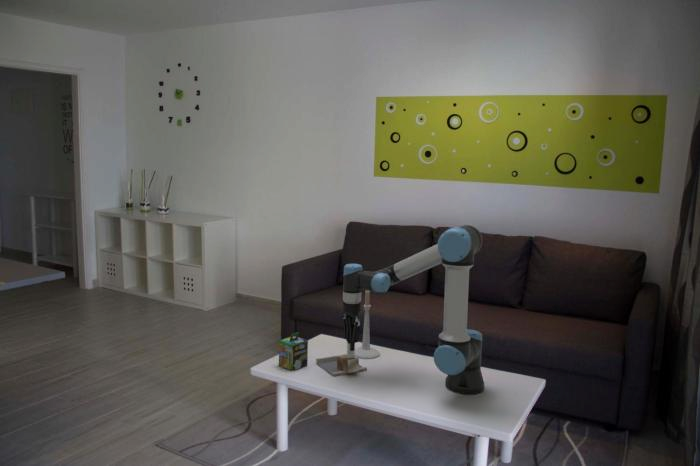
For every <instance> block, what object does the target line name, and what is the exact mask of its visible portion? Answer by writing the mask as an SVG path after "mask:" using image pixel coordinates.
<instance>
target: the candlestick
mask: <svg viewBox="0 0 700 466" xmlns="http://www.w3.org/2000/svg"><path fill="white" fill-rule="evenodd" d="M364 292H365V294H364V295H365V297H364V305H363V307H364V308H363V309H364V319H363V321H364V322H363V331H362V343H361V344H362V345H361V347H356V348H355V352H354V357H355V358H358V359H362V360H373V359H376V358H378V357H380V356H381V353H380V351H378V350H377V349H376V348H373V347H371V343H370V342H371V341H370V339H371V337H370V332H371V331H370V310H371V307H372V305H371V304H370V299H371V298H370V297H371V296H370V294H371V291H370V290H365V291H364Z"/></svg>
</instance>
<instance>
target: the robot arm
mask: <svg viewBox="0 0 700 466" xmlns="http://www.w3.org/2000/svg"><path fill="white" fill-rule="evenodd" d="M482 245H483V236H482V233H481V232H480V230H478V229H477V228H476V227H474V226H472V225H468V224H466V225H465V224H464V225H461V226H457V227H451V228H449V229H447V230H446V231H443V232H442V234H441V235H440V236H439V239H438V240H437V244H434V245H432V246H431V247H428V248H425V249H424V250H422V251H420V252H417V253H414V254H413V255H411V256H409V257H406V258H405V259H402V260H400V261H398V262H396V263H394V264H392V265H390V266H387V267H385V268H382V269H378V270H375V271H367V270H363V266H362V264H359V263H347V264H345V265H344V267H343V275H342V278H343V288H342V289H343V290H342V301H343V302H342V311H343V312H344V314H342V315H341V318H342V327H343V338H344V340H345V341H346V345H347V346H346V354H347V358H354V352H355V349H356V347H355V346H356V345H355V344H356V343H358V342H359V340H360V339H359V338H360V331H361V327H362V324H363V322H362V321H360V320H359V313H360V312H361V311H362V302H361V301H362V290H365V291H370V292H375V293H386V292H388V291H389V288H390V286H394V285H396V284H398V283H401V282H403V281H404V280H406V279H408V278H411V277H413V276H415V275H418V274H420V273H422V272H424V271H427V270H429V269H431V268H435V266H439V265H442V266H443V267H444V268H445V275H444V298H443V299H444V300H443V322H442V326H443V327H442V328H443V329H442V332H440V333H439V335H438V342H437V343H438V345H437V346H438V347H437V348H436V349H435V351H434V353H433V362H434V365H435V366H436V368H438V370H439V371H440V372H442V373H443V374H445V375H447V376H446V378H445V381H444V382H445V383H444V384H445V388H446V389H448V390H449V391H451V392H455V393H458V394H461V395H477V394H480V393H482V392H484V389H485V381H484V377H483V374H482V371H481V369H482V351H483V348H482V347H483V334H482V332H480V331H479V330H475V329H470V328H469V329H468V313H469V312H468V308H469V305H468V304H469V289H470V288H469V284H470V282H469V281H470V269H472V267H474V265H475V254H477V253H479V251H480V249H481V248H482Z"/></svg>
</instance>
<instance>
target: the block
mask: <svg viewBox="0 0 700 466" xmlns="http://www.w3.org/2000/svg"><path fill="white" fill-rule="evenodd" d="M341 355H342V354H341ZM359 359H360V358H356V357H354V358H347V355H342V356H337V368H338V369H341V370H343V371H346V372H348V373H350V372H355V371H359V365H360V363H359V362H360V361H359ZM355 373H356V372H355ZM350 374H351V373H350Z"/></svg>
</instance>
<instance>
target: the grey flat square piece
mask: <svg viewBox="0 0 700 466" xmlns="http://www.w3.org/2000/svg"><path fill="white" fill-rule="evenodd" d="M342 355H347V353H344V354H337V355H332V356H324V357H317V358H316V360H315V364H316V365H317V366H318V367H320V368H321V369H322V370H324V371H325V372H326V373H327V374H329V375H330V376H332V377H336V376H337V377H338V376H343V375H349V374H350V375H351V374H353V373H354V374H355V373H359V372H360V373H361V372H366V371H367V370H368V367H366V366H362V365H360V364H359V371H355V372H350V373H348V372H346V371H343V370H341V369H338V368H337V356H342Z"/></svg>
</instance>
